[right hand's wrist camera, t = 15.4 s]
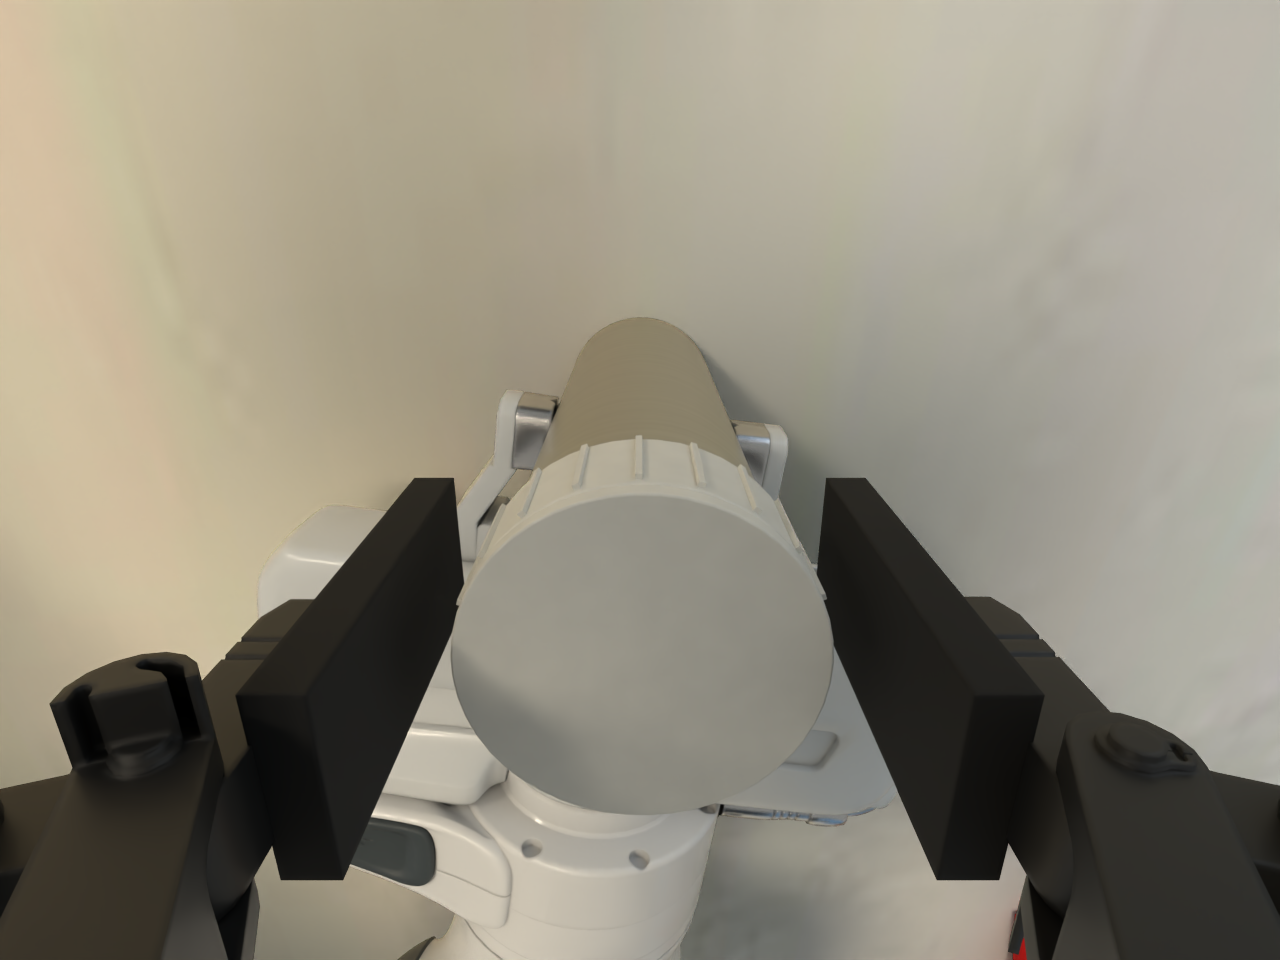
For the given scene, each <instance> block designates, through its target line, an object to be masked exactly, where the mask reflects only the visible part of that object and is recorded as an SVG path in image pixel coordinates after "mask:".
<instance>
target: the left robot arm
mask: <svg viewBox="0 0 1280 960" xmlns="http://www.w3.org/2000/svg"><path fill="white" fill-rule="evenodd" d="M558 400H559V398H558V397H556V396H549V395H543V394H536V393H529V392H524V391H517V390H506V392H505V393H504V394H503V396H502V397H501V399H500V402H499V407H498V412H497V418H496V432H495V447H494V454H493V456H492V457H491V458H490V460H489V461H488V462H487V464H486V465H485V466H484V468H483V469H482V471H481V472H480V473H479V475H478V476H477V477H476V479H475V480H474V481H473V483H472V484H471V485H470V487H469V488H468V490H467V491H466V492H465V494H464V496H463V497H462V499H461V501H460V502H459V504H458V506H457V516H458V526H459V536H460V546H461V556H462V566H463V575H464V584H465V582H466V579H467V577H468V575H469V573H470V571H471V569H472V566H473V564H474V562H475V560H476V558H477V555H478V553H479V551H480V548H481V546H482V544H483V542H484V540H485V538H486V535H487V533H488V531H489V529H490V527H491V525H492V522H493V520H494V518H495V516H496V514H497V512H498V509H499V507H500V506H501V504H502V503H503V504H505V505H507V504H508V503H509V502H510V500H509V499H508V498H507V497H500V496H498V494H499V493H500V492H501V490H502V489H503V488H504V486H505V485H506V484H507V482H508V481H509V479H510V478H511V477H512V475H513V474H514V473H515V471H516V470H517V469H526V470H533V468H534V466H535V463H536V461H537V458H538V456H539V453H540V451H541V448H542V446H543V443H544V441H545V438H546V436H547V433H548V431H549V428H550V426H551V424H552V421H553V419H554V416H555V414H556V411H557V409H558ZM730 422H731V425H732V427H733V430H734V432H735V435H736V437H737V439H738V442H739V444H740V447H741V449H742V451H743V454H744V456H745V459H746V461H747V463H748V466H749V468H750V471H751V473H752V475H753V478H754V480H755V481H756V482H757V483H758V484H759V485H760V486H761V487H762V488H763V489H764V490H765V491H766V492H767V493H768V494H769V495H770V496H771V498H772V499H773V501H775V500H777V499H779V497H778V495H779V491H780V486H781V482H782V477H783V473H784V468H785V463H786V459H787V454H788V436H787V435H786V433H785V432H784V430H783V429H782V427H781V426H779V425H771V424H764V423H756V422H748V421H740V420H730ZM779 501H780V499H779ZM780 502H781V501H780ZM386 512H387V511H384V510H376V509H367V508H360V507H352V506H345V505H328V506H325V507H323V508H321V509H320V510H318V511H317V512H315V513H314V514H313V515H312V516H311V517H309V518H308V519H307V520H306V521H304V522H303V523H302V524H301V525H299V526H298V527H297V528H296V529H294V530H293V531H292V532H291V533H290V534H289V535H288V536H287V537H286V538H285V539H284V540H283V541H282V542H281V543H280V544H279V545H278V547H277V548H276V549H275V550H274V551H273V552H272V553H271V555H270V556H269V557H268V559H267V560H266V562H265V563H264V565H263V567H262V569H261V571H260V574H259V577H258V584H257V611H258V619H259V618H260V617H261V616H263V615H265V614H266V613H268V612H270V611H271V610H273V609H275V608H276V607H278V606H280V605H281V604H283V603H285V602H286V601H288V600H290V599H315V598H316V597H317V595H318V594H319V593H320V592H321V591H322V589H323V588H324V587H325V586H326V585H327V583H328V582H329V581H330V580H331V579H332V577H333V576H334V575H335V574H336V572H337V571H338V570H339V569H340V568H341V566H342V565H343V564H344V563H345V562H346V560H347V559H348V558H349V557H350V556H351V554H352V553H353V552H354V551H355V549H356V548H357V547H358V546H359V545H360V543H361V542H362V541H363V540H364V539H365V537H366V536H367V535H368V534H369V533H370V531H371V530H372V529H373V528H374V526H375V525H376V524H377V523H378V522H379V520H380V519H381V518H382V517H383V516H384V514H385V513H386ZM817 565H818V564H812V566H813V569H814V571H815V573H816V575H817ZM451 638H452V634H451V636H450V638H449V641H448V643H447V645H446V647H445V650H444V652H443V654H442V657H441V659H440V661H439V663H438V666H437V668H436V670H435V672H434V675H433V677H432V679H431V682H430V684H429V686H428V688H427V691H426V693H425V695H424V697H423V700H422V702H421V704H420V707H419V709H418V711H417V713H416V716H415V718H414V720H413V722H412V725H411V727H410V729H409V732H408V734H407V736H406V738H405V741H404V743H403V745H402V747H401V750H400V752H399V754H398V757H397V759H396V761H395V763H394V766H393V768H392V770H391V773H390V775H389V777H388V779H387V782H386V784H385V786H384V788H383V791H382V793H381V795H380V798H379V800H378V802H377V804H376V807H375V809H374V811H373V813H372V816H371V818H370V820H369V823H368V825H367V827H366V829H365V832H364V834H363V836H362V838H361V841H360V843H359V845H358V848H357V850H356V852H355V854H354V857H353V859H352V861H351V863H350V866H349V867H351V868H354V869H357V870H360V871H363V872H366V873H368V874H371V875H374V876H377V877H379V878H382V879H385V880H387V881H390V882H392V883H395V884H397V885H400V886H402V887H404V888H407V889H409V890H411V891H413V892H416V893H418V894H420V895H422V896H424V897H426V898H428V899H430V900H432V901H434V902H436V903H438V904H440V905H441V906H443V907H445V908H447V909H448V910H450V911H452V912H454V913H455V916H454V918H453V921H452V923H451V925H450V927H449V929H448V932H447V933H446V934H445V935H444V936H443V937H442V938H440V939H436V938H435V937H431V938H429V939H427V940H425V941H423V942H421V943H420V944H418V945H417V946H415V947H414V948H412V949H411V950H409V951H408V952H407V953H405V954H404V955H403V956H401V957H400V958H399V959H398V960H681V945H680V943H681V942H682V940H683V939H684V937H685V935H686V933H687V930H688V928H689V926H690V924H691V922H692V919H693V916H694V913H695V910H696V907H697V903H698V898H699V894H700V890H701V886H702V881H703V877H704V873H705V868H706V864H707V860H708V856H709V851H710V846H711V842H712V838H713V834H714V830H715V825H716V821H717V817H718V816H719V815H720V816H728V817H738V818H747V819H757V820H770V819H771V820H778V819H779V820H785V819H787V820H796V821H805V822H806V823H807V824H811V825H815V826H824V827H830V826H840V825H844V824H845V823H846V821H847V817H848V816H857V815H861V814H865V813H868V812H870V811H872V810H874V809H876V808H877V809H881V808H884V807H886V806H887V805H888V804H889V803H890V802H891V801H892V800H893V798H894V797H895V795H896V793H897V788H896V786H895V784H894V782H893V779H892V777H891V775H890V773H889V770H888V768H887V766H886V763H885V761H884V759H883V757H882V754H881V752H880V750H879V748H878V745H877V743H876V741H875V738H874V736H873V734H872V732H871V729H870V727H869V725H868V723H867V720H866V718H865V716H864V713H863V711H862V709H861V707H860V704H859V702H858V700H857V698H856V695H855V693H854V691H853V688H852V686H851V684H850V682H849V679H848V677H847V675H846V673H845V670H844V668H843V666H842V663H841V661H840V659H839V657H838V654H837V652H836V650H835V648H834V664H833V671H832V678H831V684H830V687H829V690H828V694H827V697H826V700H825V704H824V706H823V708H822V710H821V712H820V714H819V717H818V719H817V721H816V723H815V724H814V726H813V727H812V729H811V731H810V732H809V734H808V735H807V737H806V738H805V740H804V741H803V742H802V743H801V745H800V746H799V747H798V748H797V749H796V750H795V752H794V753H793V754H792V755H791V756H790V757H789V758H788V759H787V760H786V761H785V762H784V763H782V764H781V765H780V766H779V767H778V768H777V769H776V770H775V771H774V772H772V773H771V774H769V775H768V776H766V777H765V778H764V779H762V780H761V781H759V782H758V783H757V784H755V785H753V786H751V787H749V788H747V789H746V790H744V791H742V792H740V793H738V794H736V795H734V796H732V797H729V798H727V799H724V800H722V801H720V802H717V803H714V804H711V805H707V806H704V807H701V808H697V809H693V810H688V811H683V812H677V813H671V814H659V815H623V814H615V813H606V812H601V811H596V810H592V809H587V808H583V807H579V806H576V805H573V804H570V803H567V802H564V801H561V800H559V799H557V798H555V797H553V796H550V795H548V794H546V793H544V792H542V791H540V790H538V789H536V788H535V787H533V786H531V785H530V784H528V783H526V782H525V781H523V780H521V779H520V778H519V777H518V776H516V775H515V774H514V773H512V772H511V771H510V770H508V769H507V768H506V767H505V766H503V765H502V764H501V763H500V762H499V761H498V760H497V759H496V758H495V757H494V756H493V755H492V754H491V753H490V752H489V751H488V749H487V748H486V747H485V745H484V744H483V743H482V742H481V740H480V739H479V738H478V737H477V735H476V734H475V732H474V730H473V729H472V727H471V725H470V724H469V722H468V720H467V718H466V717H465V714H464V712H463V709H462V707H461V705H460V702H459V700H458V697H457V693H456V689H455V685H454V681H453V677H452V668H451V656H450V653H451Z"/></svg>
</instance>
